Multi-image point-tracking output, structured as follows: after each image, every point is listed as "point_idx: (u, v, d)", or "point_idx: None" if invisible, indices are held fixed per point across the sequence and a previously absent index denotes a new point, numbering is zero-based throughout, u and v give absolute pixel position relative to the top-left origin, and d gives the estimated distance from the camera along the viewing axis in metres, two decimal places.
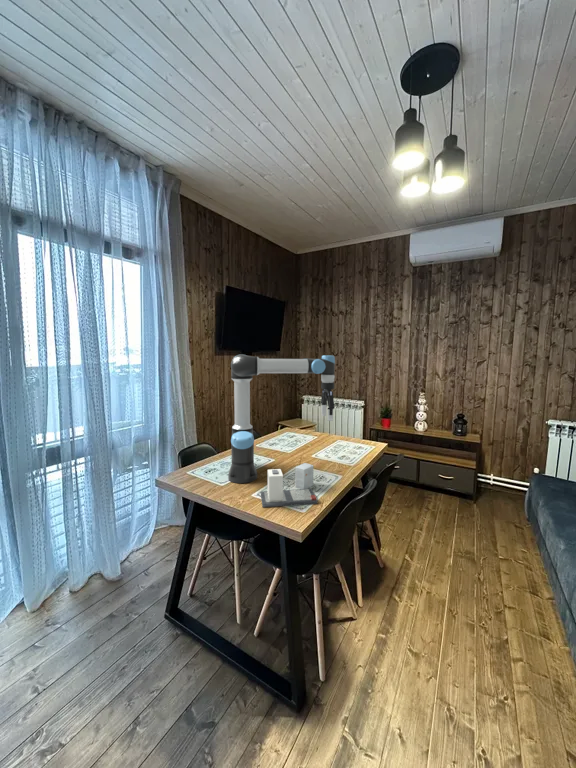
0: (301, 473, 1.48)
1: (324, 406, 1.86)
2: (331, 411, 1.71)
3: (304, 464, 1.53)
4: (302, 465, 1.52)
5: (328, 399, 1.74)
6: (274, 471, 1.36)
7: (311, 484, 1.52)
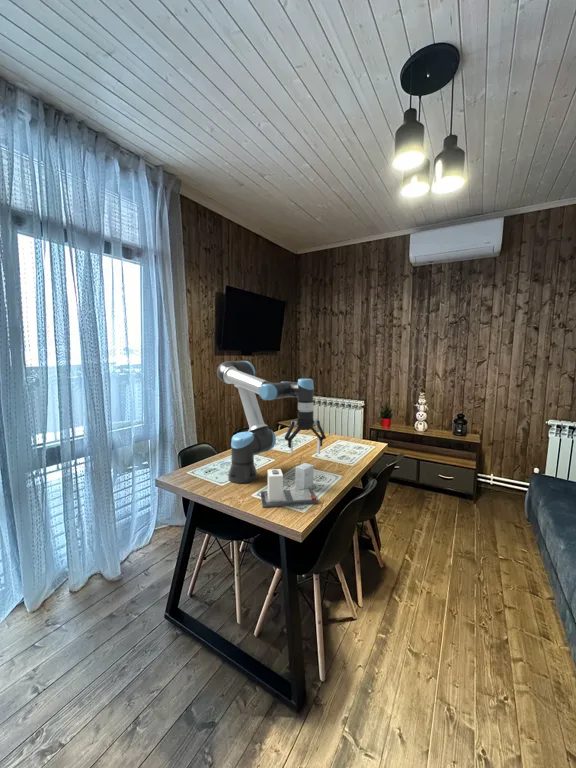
0: (301, 473, 1.48)
1: (318, 441, 1.51)
2: (288, 443, 1.48)
3: (304, 464, 1.53)
4: (302, 465, 1.52)
5: (295, 430, 1.49)
6: (274, 471, 1.36)
7: (311, 484, 1.52)
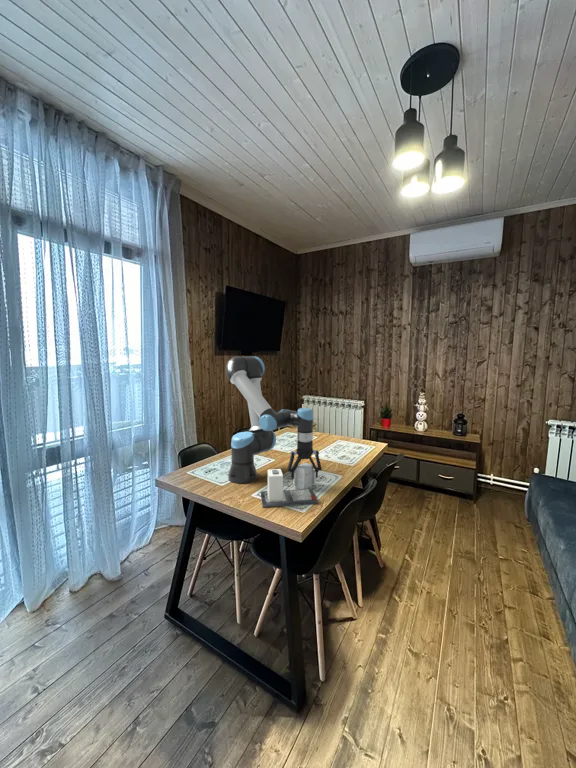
0: (301, 473, 1.48)
1: (313, 472, 1.52)
2: (291, 474, 1.50)
3: (304, 464, 1.53)
4: (302, 465, 1.52)
5: (296, 460, 1.51)
6: (274, 471, 1.36)
7: (311, 484, 1.52)
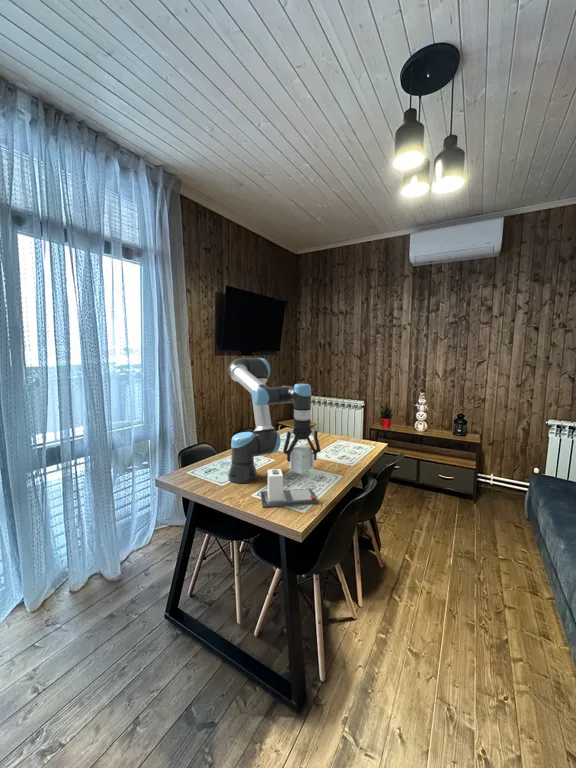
0: (298, 455, 1.34)
1: (312, 455, 1.38)
2: (287, 456, 1.37)
3: (301, 446, 1.39)
4: (299, 446, 1.38)
5: (293, 441, 1.37)
6: (274, 471, 1.36)
7: (309, 467, 1.38)
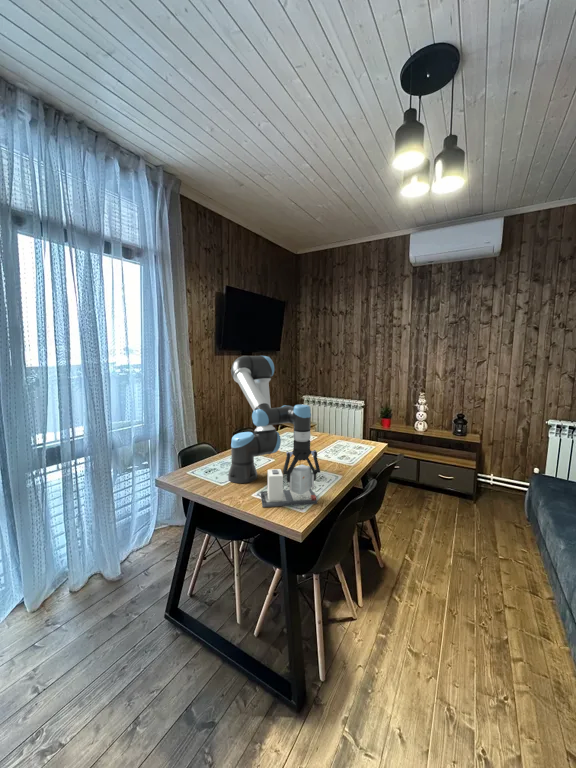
0: (298, 476, 1.35)
1: (311, 475, 1.39)
2: (287, 477, 1.38)
3: (301, 466, 1.40)
4: (299, 467, 1.39)
5: (292, 461, 1.38)
6: (274, 471, 1.36)
7: (309, 488, 1.39)
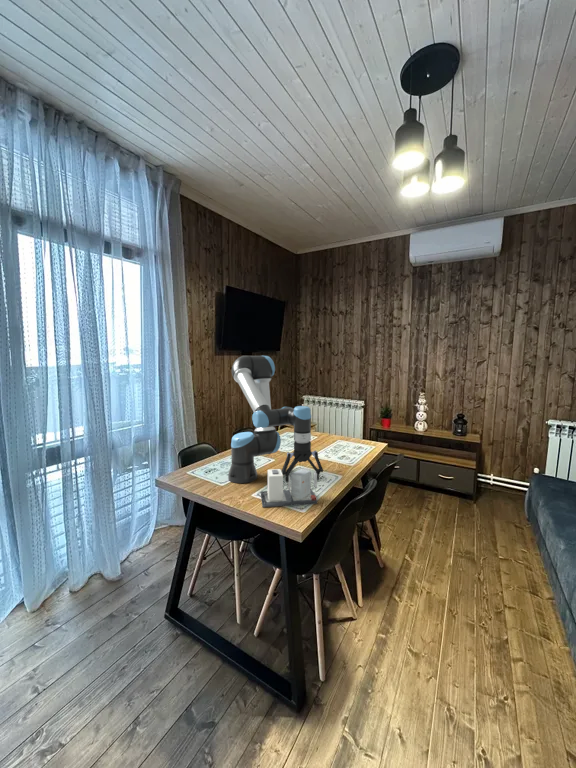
0: (297, 481, 1.35)
1: (314, 474, 1.40)
2: None
3: (301, 470, 1.41)
4: (298, 471, 1.39)
5: (292, 462, 1.38)
6: (274, 471, 1.36)
7: (308, 492, 1.40)
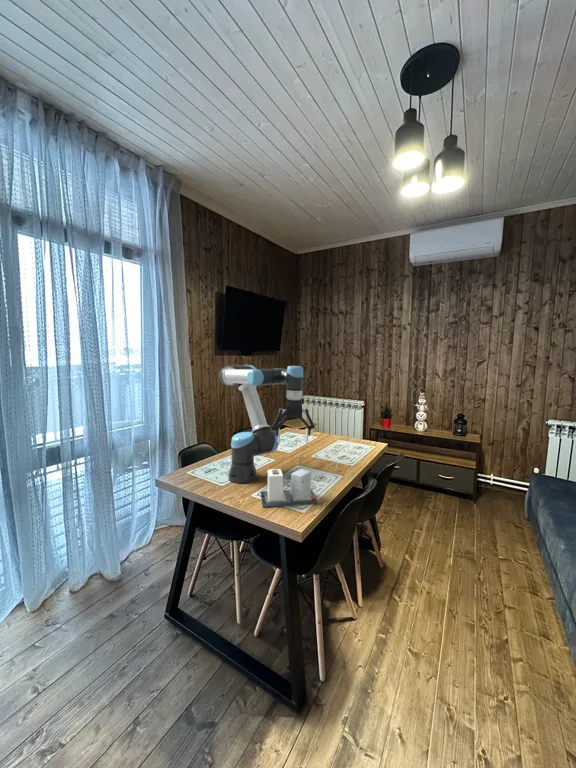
0: (297, 481, 1.35)
1: (306, 430, 1.48)
2: (275, 431, 1.46)
3: (301, 470, 1.41)
4: (298, 471, 1.39)
5: (283, 418, 1.46)
6: (274, 471, 1.36)
7: (308, 492, 1.40)
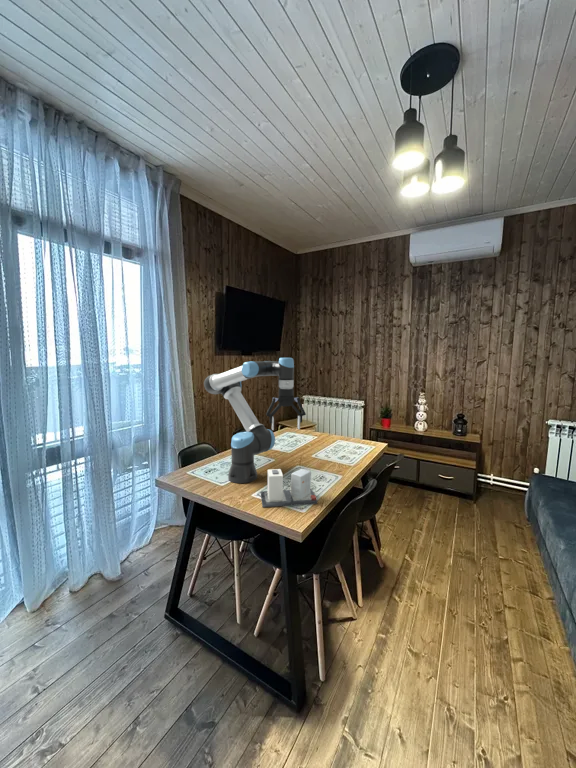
0: (297, 481, 1.35)
1: (298, 417, 1.58)
2: None
3: (301, 470, 1.41)
4: (298, 471, 1.39)
5: None
6: (274, 471, 1.36)
7: (308, 492, 1.40)
